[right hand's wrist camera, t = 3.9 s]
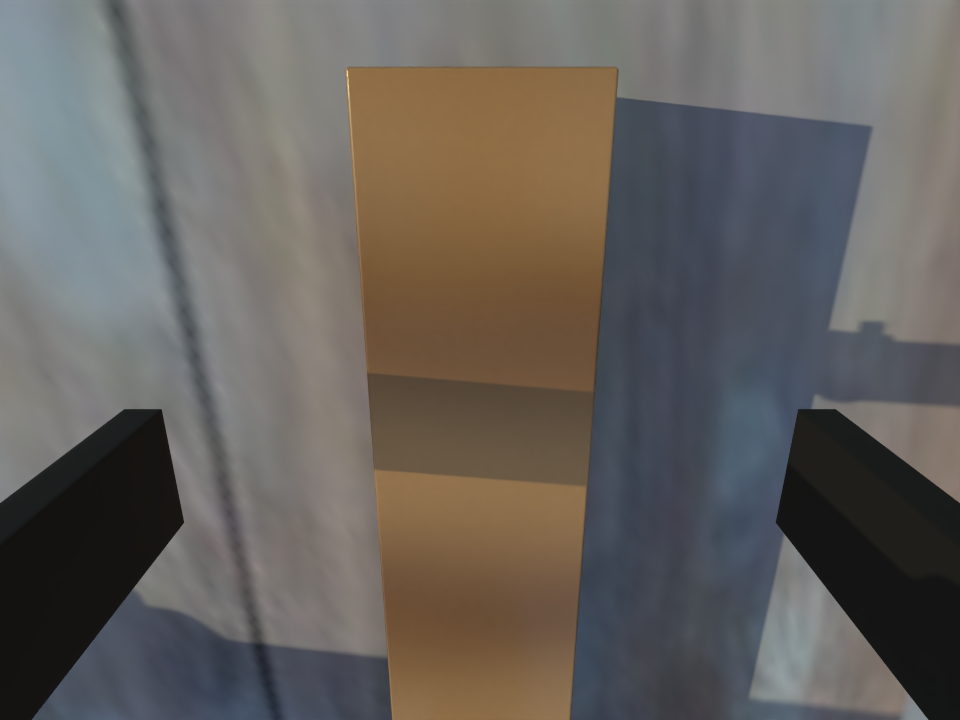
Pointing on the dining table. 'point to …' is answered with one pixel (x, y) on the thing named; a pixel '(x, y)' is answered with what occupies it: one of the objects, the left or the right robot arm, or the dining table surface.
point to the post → (481, 370)
